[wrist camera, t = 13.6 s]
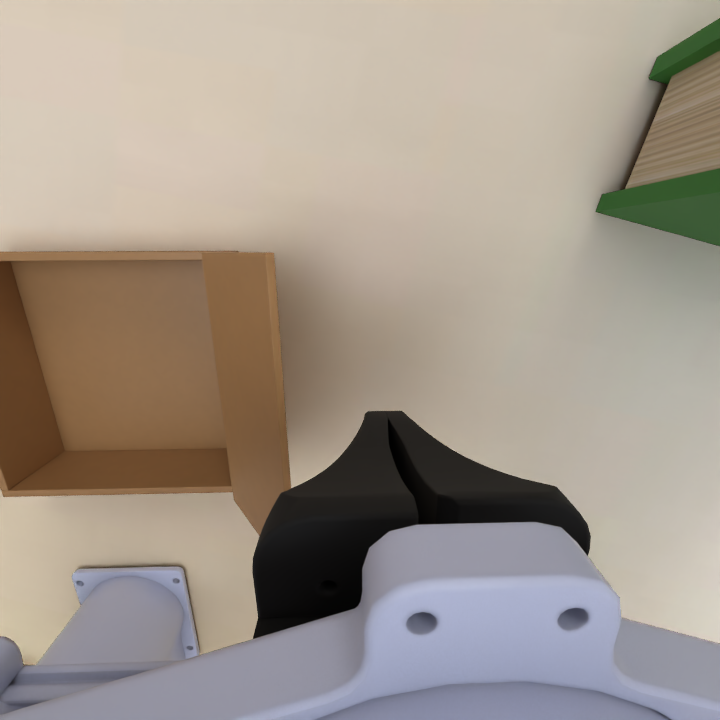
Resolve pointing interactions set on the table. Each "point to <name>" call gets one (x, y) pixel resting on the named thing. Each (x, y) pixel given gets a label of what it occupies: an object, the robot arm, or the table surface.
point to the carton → (108, 375)
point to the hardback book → (679, 147)
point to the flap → (249, 376)
